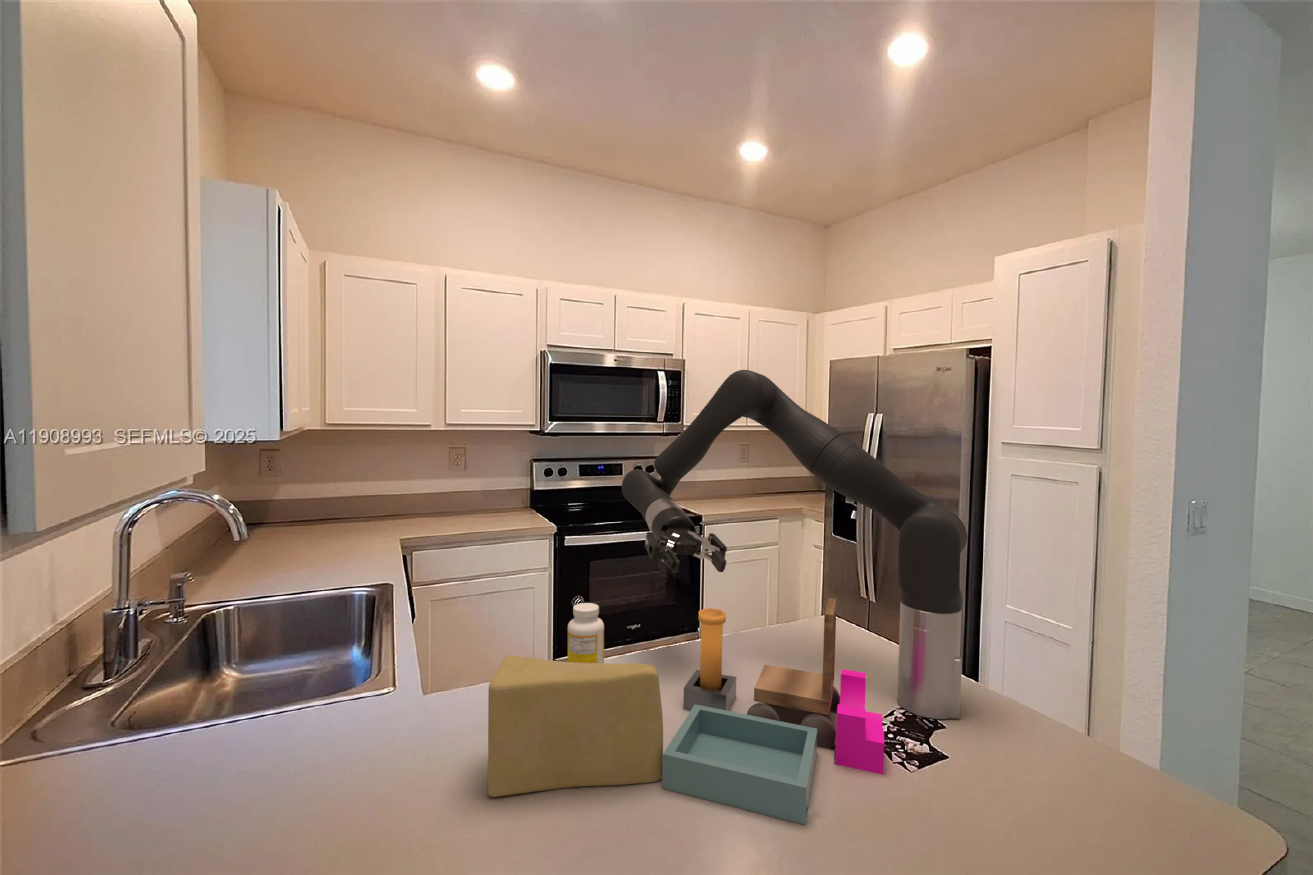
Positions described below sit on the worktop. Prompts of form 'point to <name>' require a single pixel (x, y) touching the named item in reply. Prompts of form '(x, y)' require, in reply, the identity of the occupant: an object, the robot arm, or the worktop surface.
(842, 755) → the toy block
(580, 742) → the cheese
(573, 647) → the supplement bottle
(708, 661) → the pin
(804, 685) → the trolley
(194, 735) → the worktop surface
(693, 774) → the tray
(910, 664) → the robot arm
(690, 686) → the pin socket
